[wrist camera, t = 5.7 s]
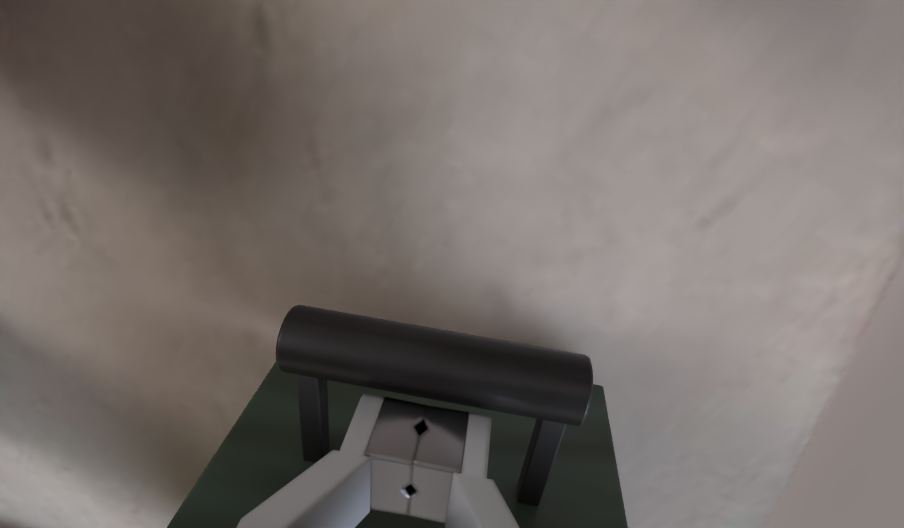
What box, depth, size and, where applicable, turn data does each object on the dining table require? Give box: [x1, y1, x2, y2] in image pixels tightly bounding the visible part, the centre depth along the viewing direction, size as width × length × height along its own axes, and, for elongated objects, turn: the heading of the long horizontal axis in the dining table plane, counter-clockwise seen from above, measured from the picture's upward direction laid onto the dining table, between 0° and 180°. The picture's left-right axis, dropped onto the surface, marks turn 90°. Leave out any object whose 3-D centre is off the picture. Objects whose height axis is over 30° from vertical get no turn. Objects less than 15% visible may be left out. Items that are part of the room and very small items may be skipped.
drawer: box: [167, 305, 628, 528], centre depth 17 cm, size 18×11×8 cm, turn 174°
